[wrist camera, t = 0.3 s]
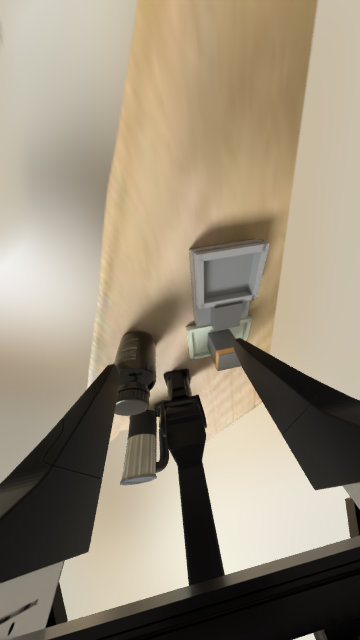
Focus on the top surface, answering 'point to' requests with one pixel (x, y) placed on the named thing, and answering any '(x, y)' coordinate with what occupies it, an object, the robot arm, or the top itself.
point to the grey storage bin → (226, 281)
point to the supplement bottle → (135, 373)
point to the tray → (200, 337)
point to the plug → (222, 349)
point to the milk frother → (144, 449)
